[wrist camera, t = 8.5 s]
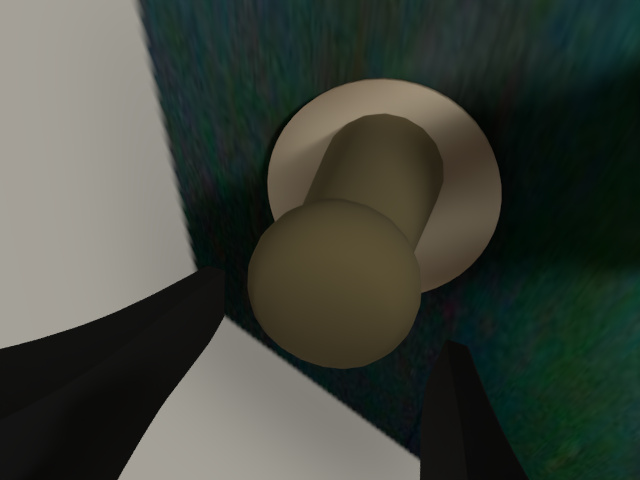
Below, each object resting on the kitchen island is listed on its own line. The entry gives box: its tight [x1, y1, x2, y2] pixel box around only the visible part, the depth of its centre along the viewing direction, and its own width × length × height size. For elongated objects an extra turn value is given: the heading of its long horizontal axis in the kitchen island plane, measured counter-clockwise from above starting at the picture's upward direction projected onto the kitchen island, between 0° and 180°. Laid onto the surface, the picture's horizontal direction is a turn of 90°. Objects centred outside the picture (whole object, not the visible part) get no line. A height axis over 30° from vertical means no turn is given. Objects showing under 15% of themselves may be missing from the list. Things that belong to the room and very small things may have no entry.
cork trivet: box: [268, 78, 501, 293], centre depth 21 cm, size 12×12×1 cm
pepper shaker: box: [247, 113, 444, 369], centre depth 15 cm, size 6×6×11 cm
